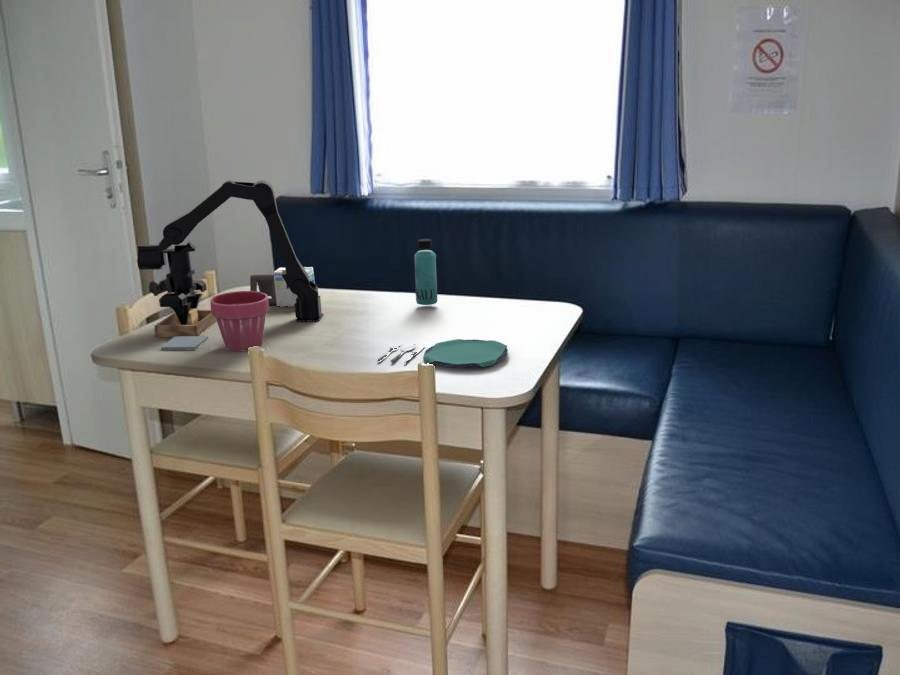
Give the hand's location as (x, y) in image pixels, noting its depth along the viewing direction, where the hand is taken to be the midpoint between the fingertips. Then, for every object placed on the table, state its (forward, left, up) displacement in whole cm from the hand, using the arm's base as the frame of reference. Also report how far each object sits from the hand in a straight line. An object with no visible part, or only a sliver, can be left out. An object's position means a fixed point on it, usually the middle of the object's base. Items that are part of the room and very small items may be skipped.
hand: (187, 323), depth 225 cm
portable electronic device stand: (-14, -26, -2) cm, 30 cm away
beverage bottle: (-64, -19, -2) cm, 67 cm away
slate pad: (-5, +15, -1) cm, 15 cm away
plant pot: (-21, +16, -2) cm, 26 cm away
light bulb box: (-24, -24, -2) cm, 34 cm away
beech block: (0, 0, -1) cm, 1 cm away
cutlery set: (-73, +24, -2) cm, 77 cm away
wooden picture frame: (0, 0, -1) cm, 1 cm away
